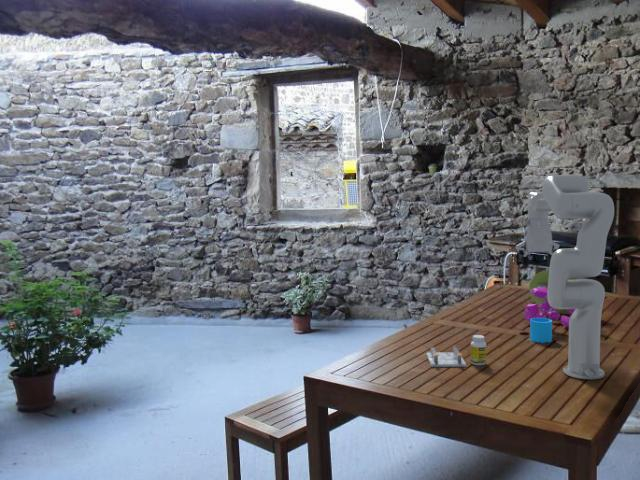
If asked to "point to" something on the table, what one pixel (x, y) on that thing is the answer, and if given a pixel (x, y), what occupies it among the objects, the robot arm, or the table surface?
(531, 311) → the tree
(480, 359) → the supplement bottle
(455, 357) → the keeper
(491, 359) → the table surface
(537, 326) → the mug
